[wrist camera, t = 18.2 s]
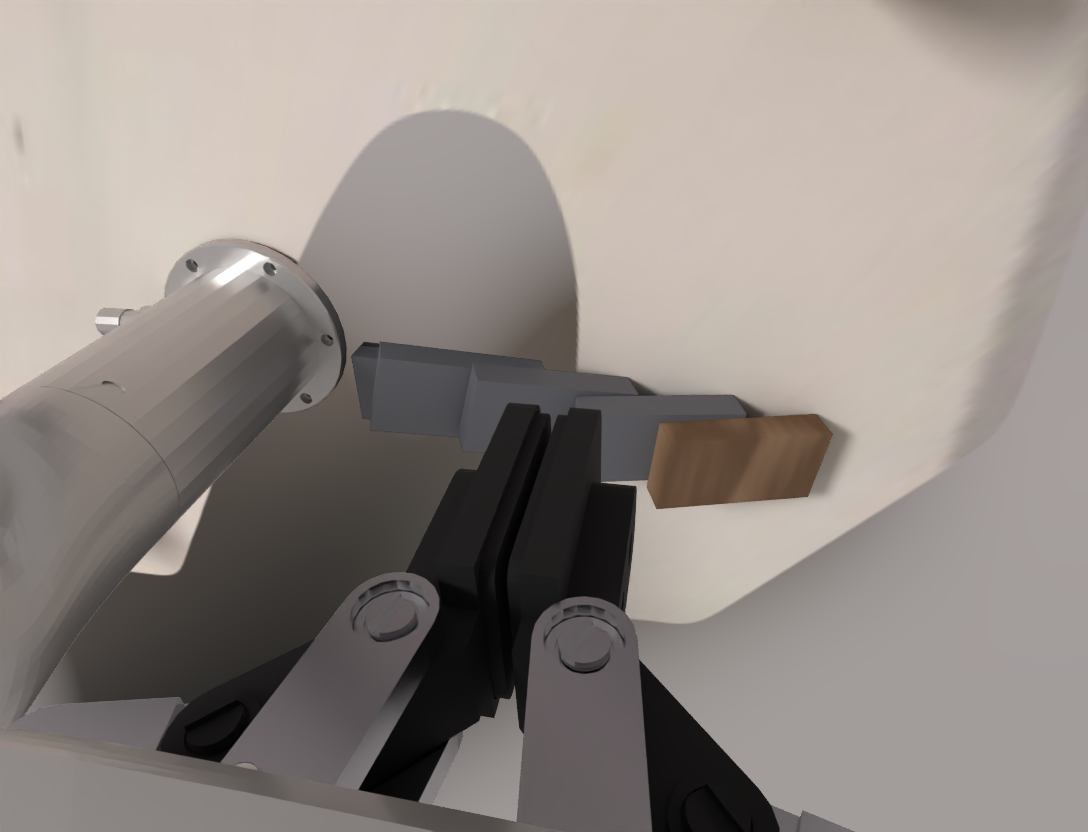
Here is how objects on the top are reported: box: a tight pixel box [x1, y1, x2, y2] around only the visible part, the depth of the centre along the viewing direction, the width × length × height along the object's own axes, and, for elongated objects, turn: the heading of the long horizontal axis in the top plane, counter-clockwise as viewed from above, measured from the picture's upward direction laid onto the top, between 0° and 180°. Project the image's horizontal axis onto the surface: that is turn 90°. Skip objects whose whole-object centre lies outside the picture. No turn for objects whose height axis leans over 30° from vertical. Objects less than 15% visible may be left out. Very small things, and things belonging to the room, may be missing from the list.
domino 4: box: [575, 395, 747, 482], centre depth 41 cm, size 2×5×10 cm
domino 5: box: [647, 414, 833, 509], centre depth 41 cm, size 2×5×10 cm
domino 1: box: [351, 342, 380, 420], centre depth 45 cm, size 2×5×10 cm
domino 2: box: [370, 342, 545, 437], centre depth 41 cm, size 2×5×10 cm
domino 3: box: [458, 363, 639, 453], centre depth 41 cm, size 2×5×10 cm
